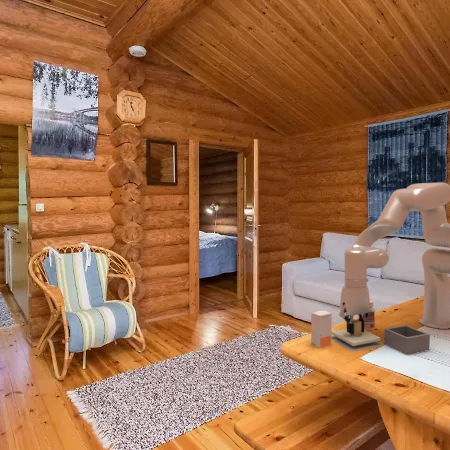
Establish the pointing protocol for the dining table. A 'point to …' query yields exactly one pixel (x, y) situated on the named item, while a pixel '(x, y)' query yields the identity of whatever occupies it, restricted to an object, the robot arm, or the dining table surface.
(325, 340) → the skincare box
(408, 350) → the open grey box
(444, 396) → the dining table surface
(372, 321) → the pill bottle
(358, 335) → the lid
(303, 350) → the dining table surface
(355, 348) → the mat
